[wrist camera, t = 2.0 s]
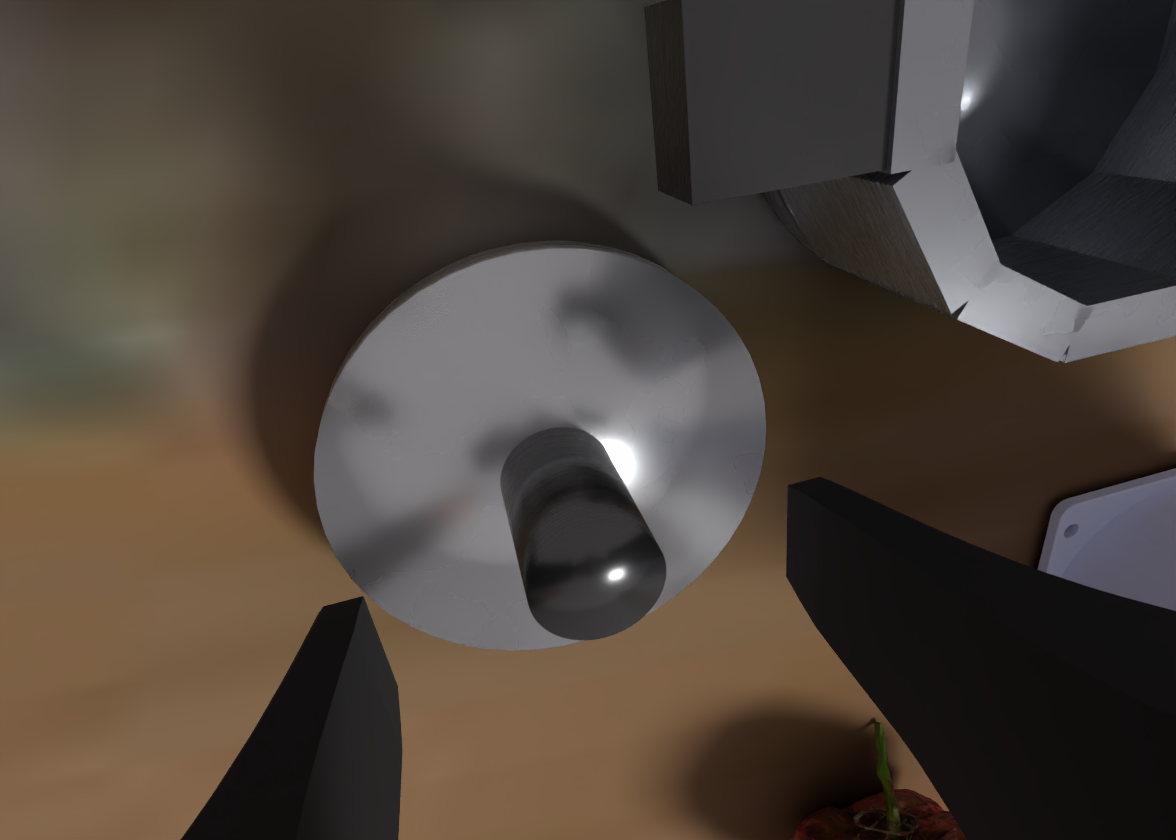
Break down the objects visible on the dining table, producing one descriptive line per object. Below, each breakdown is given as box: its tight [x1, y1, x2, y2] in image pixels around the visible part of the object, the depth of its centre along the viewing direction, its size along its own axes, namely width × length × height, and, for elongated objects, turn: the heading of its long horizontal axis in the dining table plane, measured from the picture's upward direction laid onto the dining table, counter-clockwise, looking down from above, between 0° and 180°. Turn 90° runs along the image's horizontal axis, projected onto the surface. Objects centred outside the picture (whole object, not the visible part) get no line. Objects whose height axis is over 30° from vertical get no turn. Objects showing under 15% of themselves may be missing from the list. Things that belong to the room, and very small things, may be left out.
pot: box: [645, 0, 1176, 363], centre depth 12 cm, size 10×20×5 cm, turn 97°
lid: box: [314, 240, 766, 650], centre depth 14 cm, size 10×10×5 cm
